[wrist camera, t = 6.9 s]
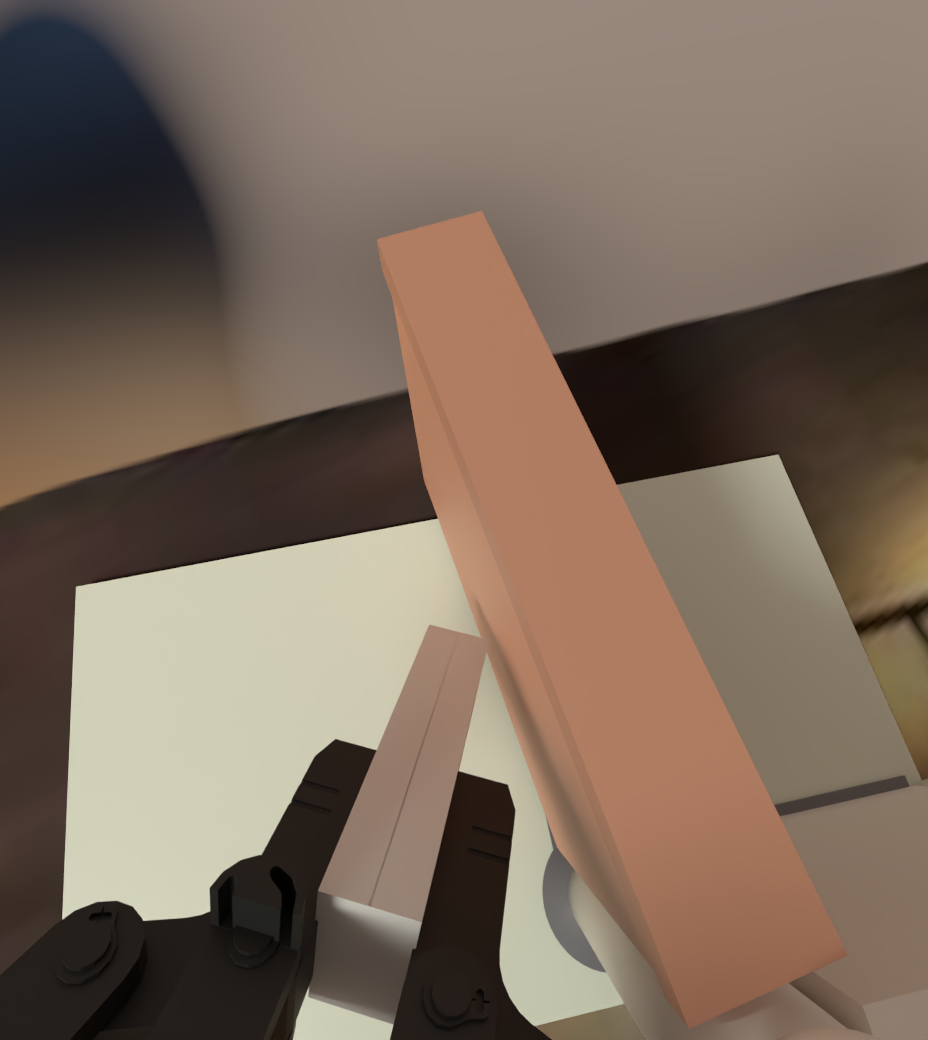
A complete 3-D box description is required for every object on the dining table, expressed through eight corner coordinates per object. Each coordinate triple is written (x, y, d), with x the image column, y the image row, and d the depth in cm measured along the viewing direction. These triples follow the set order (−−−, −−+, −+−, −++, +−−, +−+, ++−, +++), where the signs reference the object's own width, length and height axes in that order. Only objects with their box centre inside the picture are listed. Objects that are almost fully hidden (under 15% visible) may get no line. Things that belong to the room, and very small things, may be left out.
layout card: (773, 459, 21) (780, 453, 21) (969, 910, 16) (984, 916, 16) (83, 589, 20) (73, 585, 19) (63, 1134, 15) (50, 1148, 14)
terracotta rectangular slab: (619, 822, 16) (847, 954, 6) (554, 848, 16) (689, 1028, 6) (475, 463, 20) (481, 211, 10) (421, 480, 20) (376, 238, 10)
